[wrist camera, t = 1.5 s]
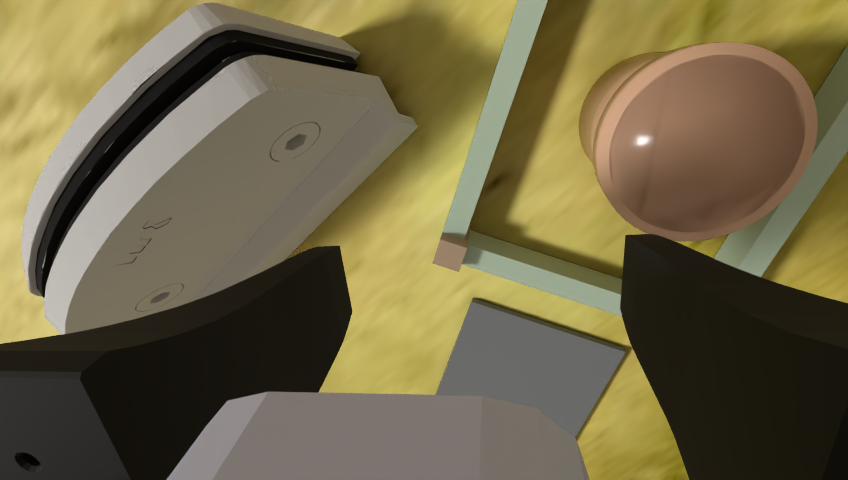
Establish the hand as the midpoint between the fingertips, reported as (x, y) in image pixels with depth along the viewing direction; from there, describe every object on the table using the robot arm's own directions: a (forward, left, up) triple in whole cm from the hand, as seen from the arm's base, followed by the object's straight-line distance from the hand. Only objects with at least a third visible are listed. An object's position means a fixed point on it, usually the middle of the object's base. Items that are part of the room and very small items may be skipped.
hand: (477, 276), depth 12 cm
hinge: (+11, +4, -10) cm, 16 cm away
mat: (-5, +10, -10) cm, 15 cm away
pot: (-5, -4, -10) cm, 12 cm away
